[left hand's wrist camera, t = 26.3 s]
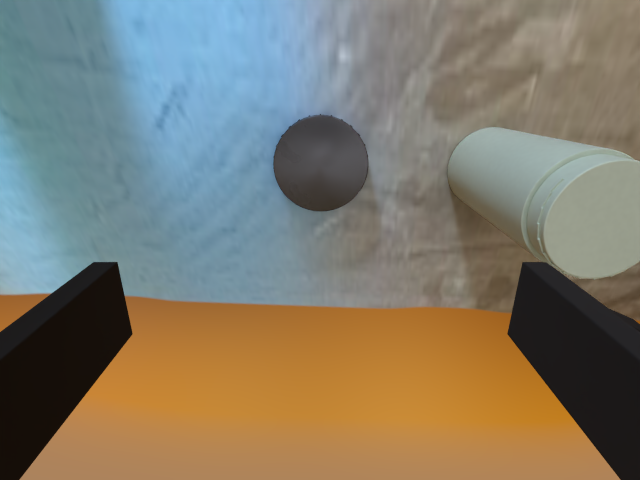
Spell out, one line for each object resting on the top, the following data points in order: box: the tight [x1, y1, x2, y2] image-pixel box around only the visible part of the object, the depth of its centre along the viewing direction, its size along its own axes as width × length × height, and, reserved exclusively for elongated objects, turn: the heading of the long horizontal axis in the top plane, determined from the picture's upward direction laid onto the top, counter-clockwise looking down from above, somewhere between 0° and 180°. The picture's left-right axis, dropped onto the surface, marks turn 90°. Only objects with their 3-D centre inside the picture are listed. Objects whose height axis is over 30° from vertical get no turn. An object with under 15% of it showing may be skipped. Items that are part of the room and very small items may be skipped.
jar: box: [447, 127, 640, 279], centre depth 31 cm, size 8×8×18 cm
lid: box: [274, 114, 368, 211], centre depth 38 cm, size 9×9×2 cm
